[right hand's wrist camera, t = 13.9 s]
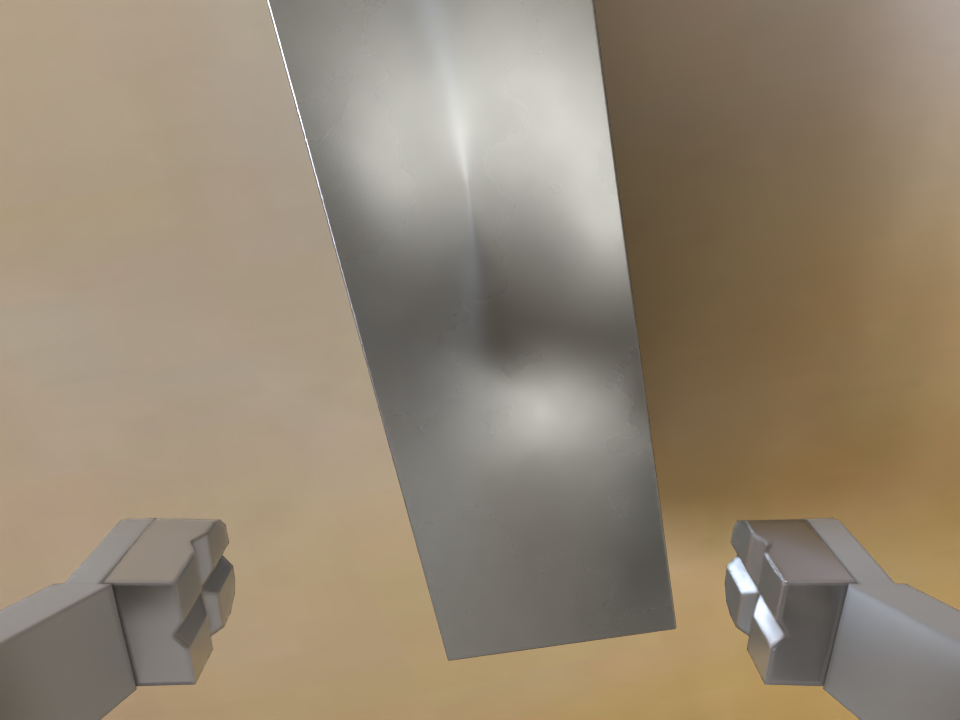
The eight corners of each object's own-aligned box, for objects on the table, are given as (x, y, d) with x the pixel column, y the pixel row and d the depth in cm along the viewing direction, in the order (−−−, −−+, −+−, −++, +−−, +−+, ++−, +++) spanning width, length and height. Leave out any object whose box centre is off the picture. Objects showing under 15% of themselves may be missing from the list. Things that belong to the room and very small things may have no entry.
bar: (619, 465, 24) (677, 629, 16) (464, 490, 24) (447, 661, 17) (502, -306, 17) (504, -686, 9) (288, -247, 17) (113, -556, 9)
